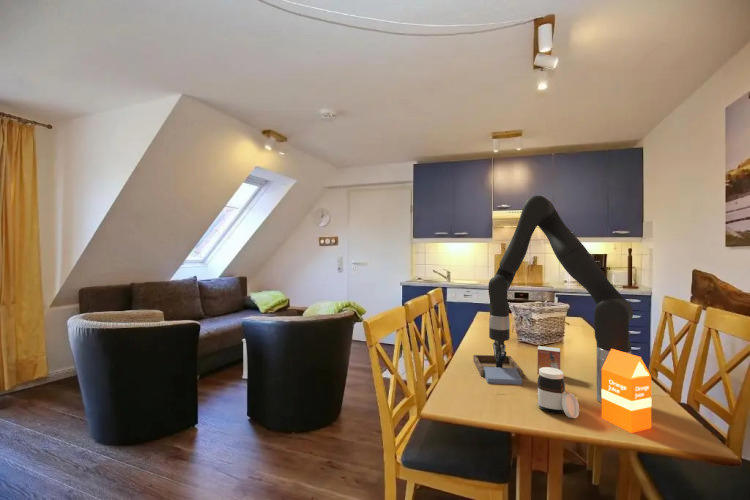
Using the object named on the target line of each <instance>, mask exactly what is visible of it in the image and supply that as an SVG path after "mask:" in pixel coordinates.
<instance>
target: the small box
mask: <svg viewBox="0 0 750 500" xmlns="http://www.w3.org/2000/svg"><path fill="white" fill-rule="evenodd" d="M536 355H537V362H536V363H537V367H536V368H537V372H536V373H537V375H540V374H539V369H540V368H542V367H551V368H556V369H559V370H561V348H559V347H552V346H551V347H549V346H543V345H542V346H541V345H538V346H537V354H536Z"/></svg>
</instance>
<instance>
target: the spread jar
mask: <svg viewBox="0 0 750 500" xmlns="http://www.w3.org/2000/svg"><path fill="white" fill-rule="evenodd" d="M564 375H565V373H564V371H563V370H561V369H560V370H559V369H556V368H551V367H542V368H540V369H539V374H538V378H537V407H538V408H539V409H541V410H542V411H544V412H547V413H551V414H561V413H564V414H565V415H566V417H568V418H569V419H577V418H578V417H579V415H580V405H579V401H578V399H577V397H576V395H575V394H574V393H571V392H566V383H565V382H566V381H565V379H564Z"/></svg>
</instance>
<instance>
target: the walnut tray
mask: <svg viewBox="0 0 750 500" xmlns="http://www.w3.org/2000/svg"><path fill="white" fill-rule="evenodd" d="M473 363H474V365H475V367H476V369H477V371H478V374H479V375H480V377H482V378H485V376H484V369H483V367H496V360H495V357H494V354H493V355H488V354H473ZM503 368H516V369H517V371H518V373H519V375H520V376H521V378H522V379H523V377H524V375H523V374H524V373H523V372H524V371H523V369H522V368H521V367H520V366H519V365H518V363H517V362H516V361H515V360H514V358H513V357H512V356H511V355H506V357H505V361H504V362H503Z"/></svg>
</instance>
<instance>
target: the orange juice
mask: <svg viewBox="0 0 750 500" xmlns="http://www.w3.org/2000/svg"><path fill="white" fill-rule="evenodd" d="M601 419H603V420H605V421H606V422H609V423H611V424H613V425H615V426H617V427H619V428H621V429H623V430H625V431H627V432H629V433H631V434H632V433H636V432H641V431H645V430H649V429H652V375H651V374H650V372H649V369H648V368H647V366H646V363H644V361H643V359H642V356H638V355H635V354H632V353H631V354H629V353H625V352H622V351H618V350H615V349H611V350H610V353H609V355H608V357H607V359H606V361H605V363H604V365H603V367H602V403H601Z"/></svg>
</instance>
